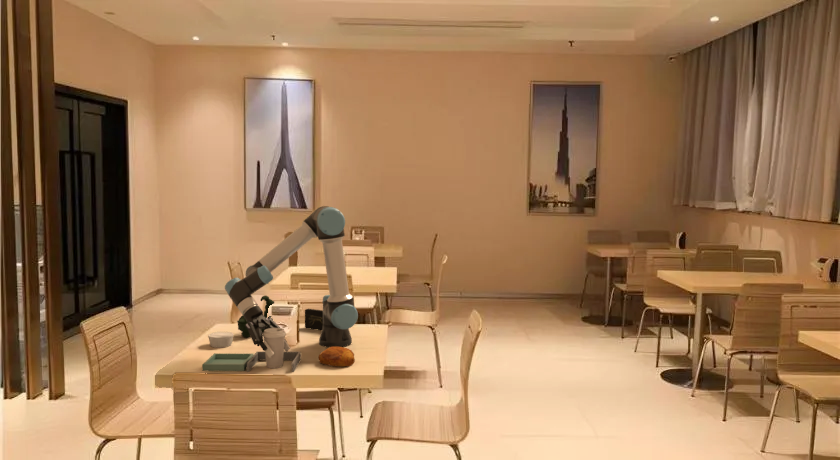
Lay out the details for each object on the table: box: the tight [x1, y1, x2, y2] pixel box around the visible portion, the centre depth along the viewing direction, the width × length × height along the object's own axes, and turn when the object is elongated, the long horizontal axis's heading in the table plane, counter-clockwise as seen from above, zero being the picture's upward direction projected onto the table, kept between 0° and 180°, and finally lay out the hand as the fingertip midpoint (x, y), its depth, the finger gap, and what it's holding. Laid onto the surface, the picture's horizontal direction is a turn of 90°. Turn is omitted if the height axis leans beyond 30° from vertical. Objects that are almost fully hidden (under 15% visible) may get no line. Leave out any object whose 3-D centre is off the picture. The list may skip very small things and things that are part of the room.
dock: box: [246, 351, 302, 373], centre depth 280 cm, size 19×18×4 cm
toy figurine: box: [236, 295, 275, 339], centre depth 332 cm, size 10×19×26 cm
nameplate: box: [304, 308, 323, 331], centre depth 343 cm, size 21×2×10 cm, turn 61°
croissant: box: [318, 346, 356, 368], centre depth 285 cm, size 14×16×8 cm
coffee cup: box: [262, 327, 287, 369], centre depth 279 cm, size 10×10×15 cm
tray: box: [201, 352, 255, 372], centre depth 280 cm, size 17×17×3 cm
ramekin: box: [207, 331, 234, 349], centre depth 312 cm, size 11×11×5 cm
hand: (280, 352), depth 277 cm, fingers closed on coffee cup, 9 cm apart
